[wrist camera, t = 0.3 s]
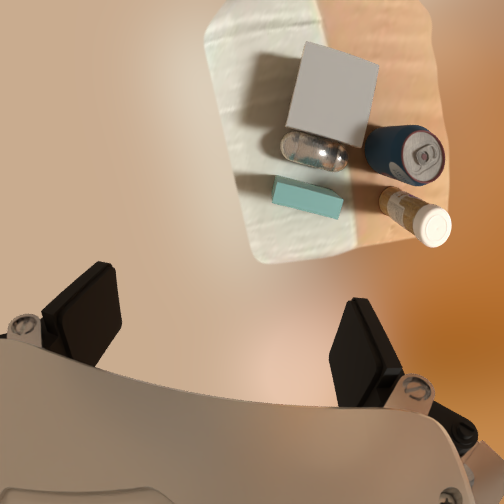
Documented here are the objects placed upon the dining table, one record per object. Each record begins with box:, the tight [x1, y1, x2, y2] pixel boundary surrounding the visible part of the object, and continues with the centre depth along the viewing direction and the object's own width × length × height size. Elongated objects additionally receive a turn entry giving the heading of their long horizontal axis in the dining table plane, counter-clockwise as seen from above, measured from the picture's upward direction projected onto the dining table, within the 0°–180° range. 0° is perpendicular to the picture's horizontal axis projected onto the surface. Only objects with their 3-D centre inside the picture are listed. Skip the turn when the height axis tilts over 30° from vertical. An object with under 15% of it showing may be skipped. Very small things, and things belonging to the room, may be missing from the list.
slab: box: [285, 41, 379, 148], centre depth 28 cm, size 11×9×2 cm
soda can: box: [365, 125, 445, 186], centre depth 30 cm, size 7×7×12 cm
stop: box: [272, 175, 344, 220], centre depth 35 cm, size 2×8×7 cm, turn 78°
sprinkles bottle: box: [379, 187, 451, 247], centre depth 32 cm, size 5×5×13 cm
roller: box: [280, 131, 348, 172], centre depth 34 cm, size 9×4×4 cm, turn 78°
